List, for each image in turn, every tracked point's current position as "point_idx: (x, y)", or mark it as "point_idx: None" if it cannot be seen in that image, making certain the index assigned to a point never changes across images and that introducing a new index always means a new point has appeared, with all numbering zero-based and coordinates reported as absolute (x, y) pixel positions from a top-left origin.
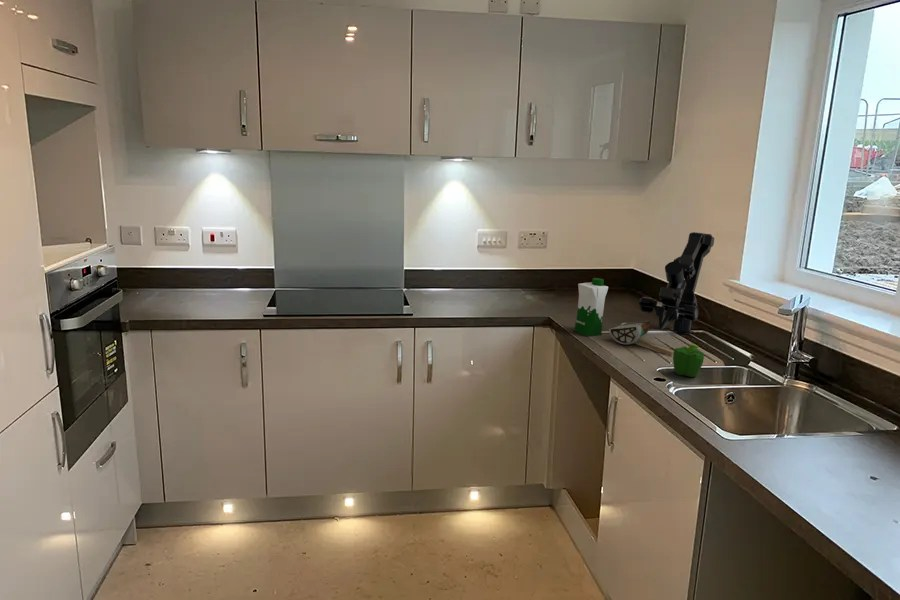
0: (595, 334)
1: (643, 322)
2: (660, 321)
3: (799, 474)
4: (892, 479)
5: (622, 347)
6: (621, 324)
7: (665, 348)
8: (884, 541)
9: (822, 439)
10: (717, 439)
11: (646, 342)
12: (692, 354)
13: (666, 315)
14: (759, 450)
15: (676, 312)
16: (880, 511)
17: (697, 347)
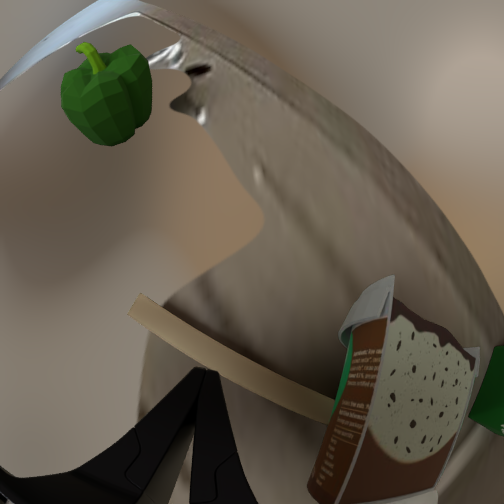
0: (483, 386)
1: (370, 470)
2: (212, 419)
3: (98, 13)
4: (34, 46)
5: None
6: (437, 499)
7: (174, 343)
8: (92, 4)
9: (35, 61)
10: (144, 8)
11: (290, 400)
12: (100, 53)
13: (135, 480)
14: (111, 15)
15: (2, 467)
16: (73, 17)
17: (77, 50)
